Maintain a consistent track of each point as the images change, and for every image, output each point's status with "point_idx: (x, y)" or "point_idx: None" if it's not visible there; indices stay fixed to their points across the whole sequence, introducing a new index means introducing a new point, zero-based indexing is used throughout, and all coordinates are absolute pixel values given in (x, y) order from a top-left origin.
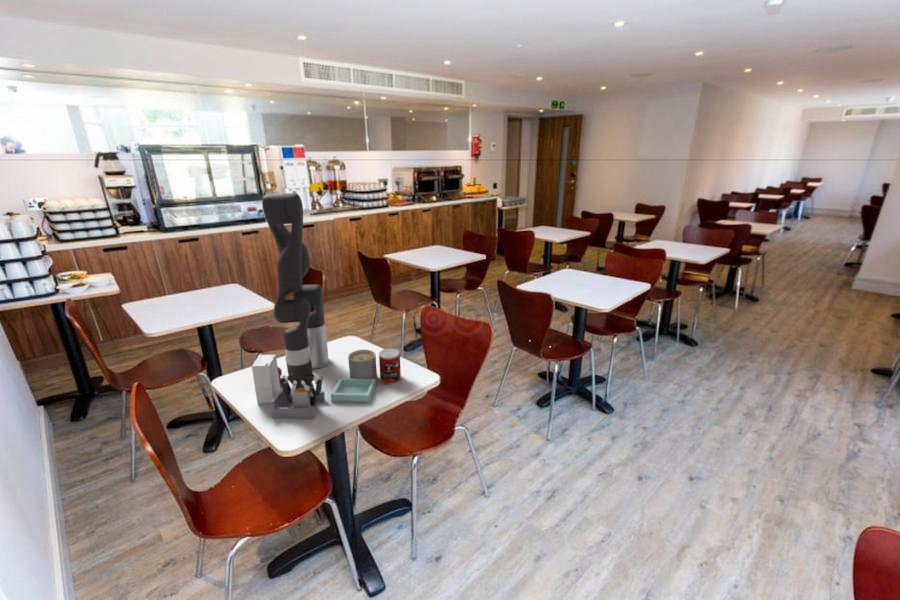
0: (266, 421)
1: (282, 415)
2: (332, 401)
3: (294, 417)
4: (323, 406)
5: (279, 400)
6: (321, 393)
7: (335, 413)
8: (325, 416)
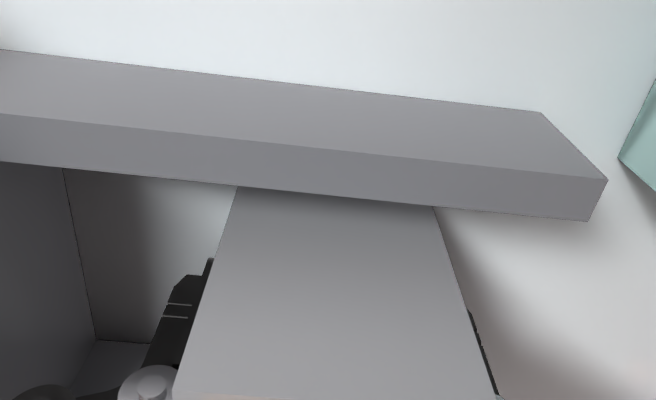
0: None
1: None
2: (634, 163)
3: None
4: (516, 230)
5: (11, 382)
6: (552, 215)
7: (627, 334)
8: (533, 362)
